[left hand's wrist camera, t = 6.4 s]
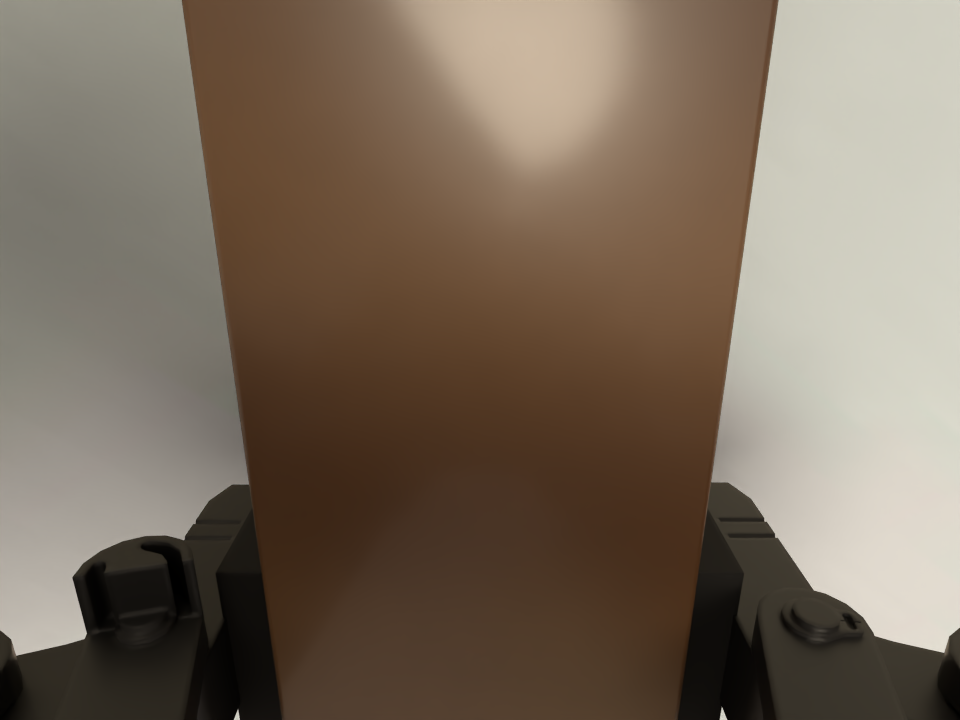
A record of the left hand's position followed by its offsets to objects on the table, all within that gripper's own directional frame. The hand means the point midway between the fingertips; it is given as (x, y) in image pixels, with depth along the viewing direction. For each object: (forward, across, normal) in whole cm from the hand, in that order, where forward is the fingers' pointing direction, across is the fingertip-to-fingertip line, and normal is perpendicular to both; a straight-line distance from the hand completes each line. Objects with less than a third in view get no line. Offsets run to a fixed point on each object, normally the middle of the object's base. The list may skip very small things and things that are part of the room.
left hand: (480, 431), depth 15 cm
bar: (+1, 0, -28) cm, 28 cm away
